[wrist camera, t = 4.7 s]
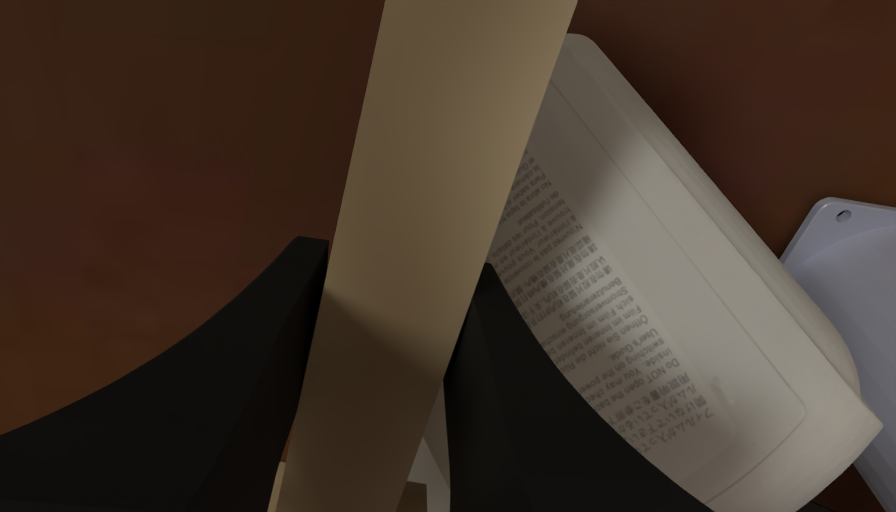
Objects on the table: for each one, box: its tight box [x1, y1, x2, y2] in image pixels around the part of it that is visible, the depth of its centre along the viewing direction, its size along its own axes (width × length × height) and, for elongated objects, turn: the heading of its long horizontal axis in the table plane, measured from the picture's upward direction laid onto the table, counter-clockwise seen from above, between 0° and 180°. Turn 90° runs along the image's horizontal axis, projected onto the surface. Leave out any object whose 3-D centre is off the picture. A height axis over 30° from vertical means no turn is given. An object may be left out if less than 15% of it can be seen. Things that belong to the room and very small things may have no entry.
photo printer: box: [423, 34, 883, 512], centre depth 15 cm, size 10×4×12 cm
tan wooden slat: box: [267, 0, 578, 512], centre depth 12 cm, size 6×16×4 cm, turn 164°
